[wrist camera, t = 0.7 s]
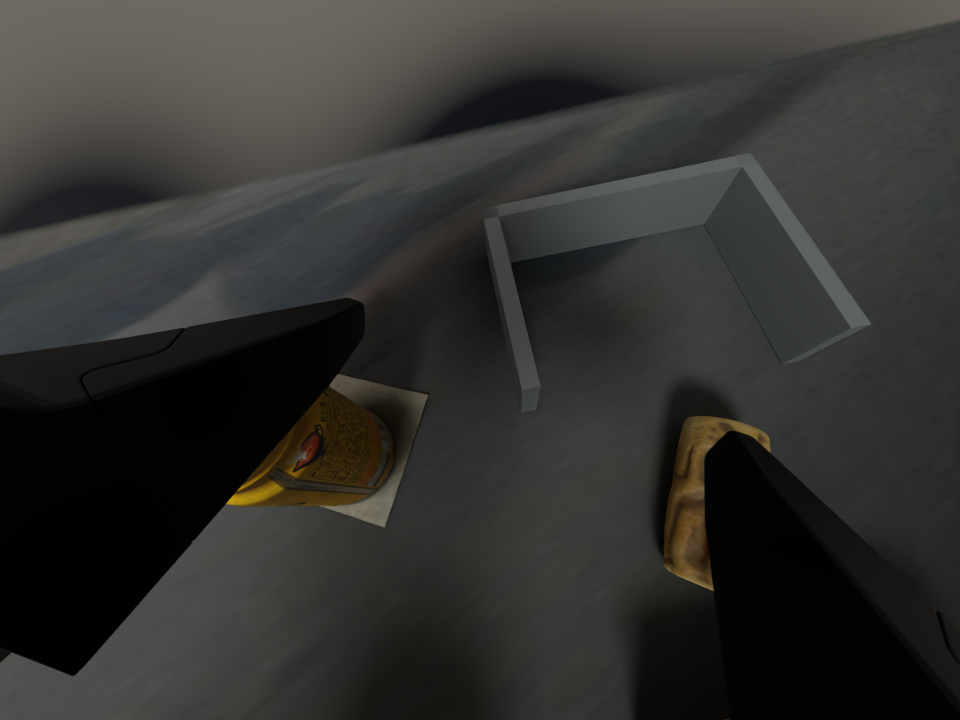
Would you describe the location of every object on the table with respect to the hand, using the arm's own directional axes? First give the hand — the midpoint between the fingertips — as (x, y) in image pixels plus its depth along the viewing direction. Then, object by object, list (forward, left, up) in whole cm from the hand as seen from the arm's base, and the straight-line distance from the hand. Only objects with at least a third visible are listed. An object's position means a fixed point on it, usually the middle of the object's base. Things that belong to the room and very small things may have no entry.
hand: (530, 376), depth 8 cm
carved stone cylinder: (-4, -9, -15) cm, 18 cm away
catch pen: (+9, -9, -15) cm, 20 cm away
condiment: (+3, +11, -15) cm, 18 cm away
